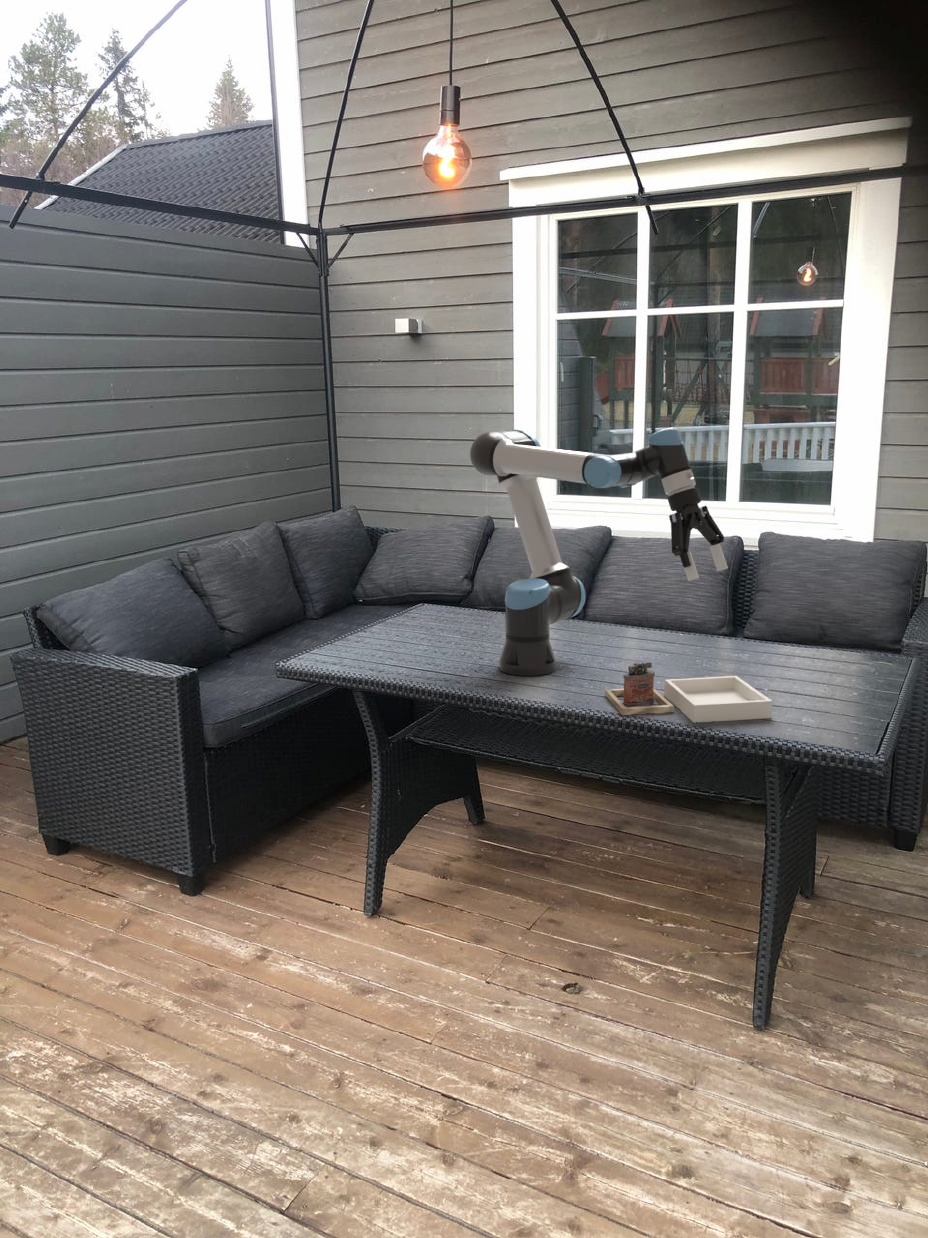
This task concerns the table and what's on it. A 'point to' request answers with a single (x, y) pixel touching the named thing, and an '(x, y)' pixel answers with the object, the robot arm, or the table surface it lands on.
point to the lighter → (638, 685)
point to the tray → (717, 699)
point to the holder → (664, 707)
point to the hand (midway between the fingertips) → (708, 574)
